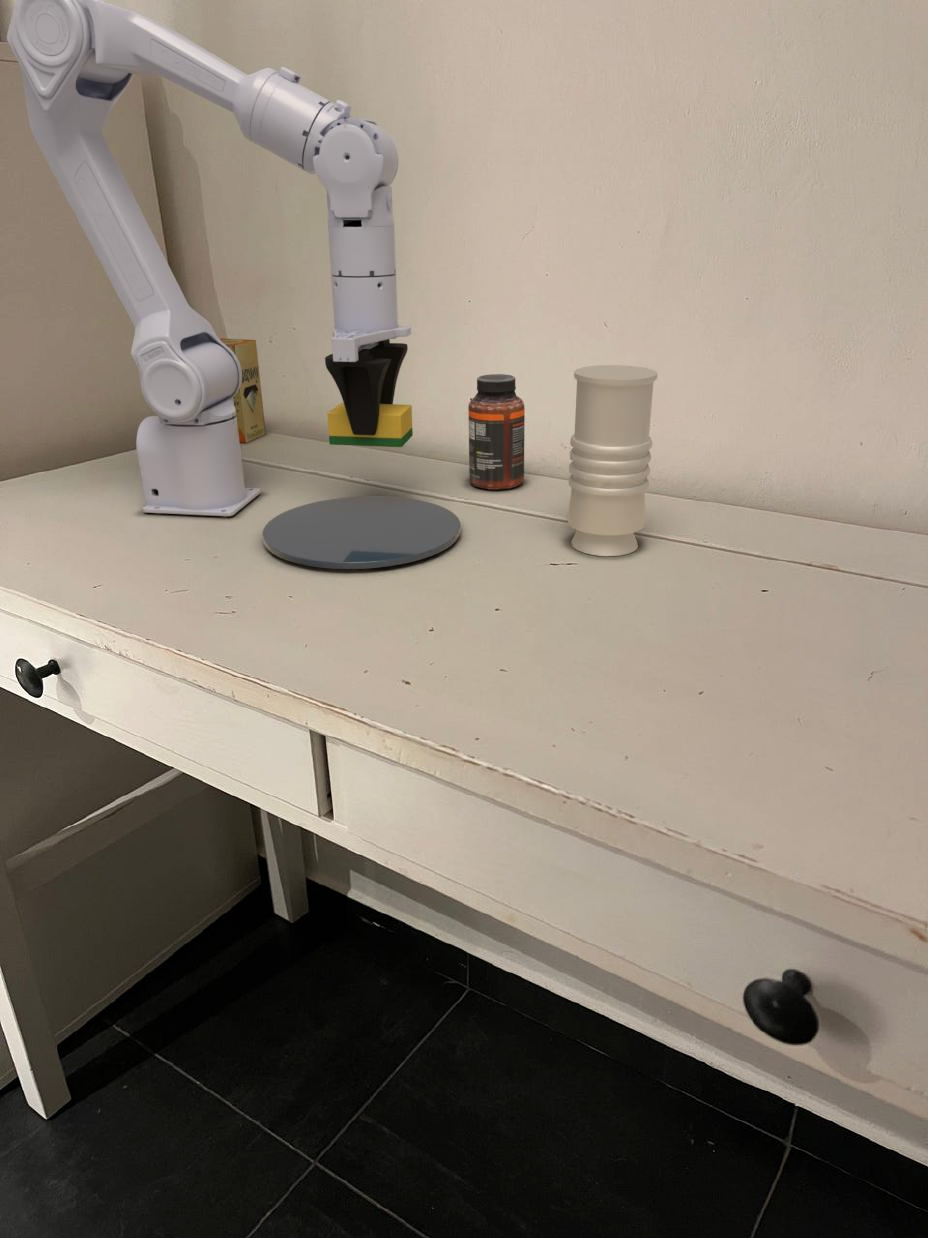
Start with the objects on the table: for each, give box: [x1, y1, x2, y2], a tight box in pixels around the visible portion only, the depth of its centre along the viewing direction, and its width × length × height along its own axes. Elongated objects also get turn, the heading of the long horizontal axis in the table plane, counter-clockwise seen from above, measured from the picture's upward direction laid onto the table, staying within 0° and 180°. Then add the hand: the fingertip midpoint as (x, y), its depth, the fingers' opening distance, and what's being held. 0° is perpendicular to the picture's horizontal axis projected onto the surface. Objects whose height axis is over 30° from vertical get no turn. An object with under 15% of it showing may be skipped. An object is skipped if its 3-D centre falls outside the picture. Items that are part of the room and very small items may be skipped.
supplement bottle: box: [467, 373, 526, 491], centre depth 93 cm, size 6×6×11 cm
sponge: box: [327, 402, 414, 448], centre depth 84 cm, size 7×4×3 cm, turn 80°
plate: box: [261, 495, 462, 570], centre depth 81 cm, size 18×18×1 cm
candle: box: [567, 364, 658, 557], centre depth 76 cm, size 7×7×15 cm
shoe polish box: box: [219, 338, 267, 444], centre depth 113 cm, size 5×5×12 cm
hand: (371, 427), depth 84 cm, fingers closed on sponge, 4 cm apart
